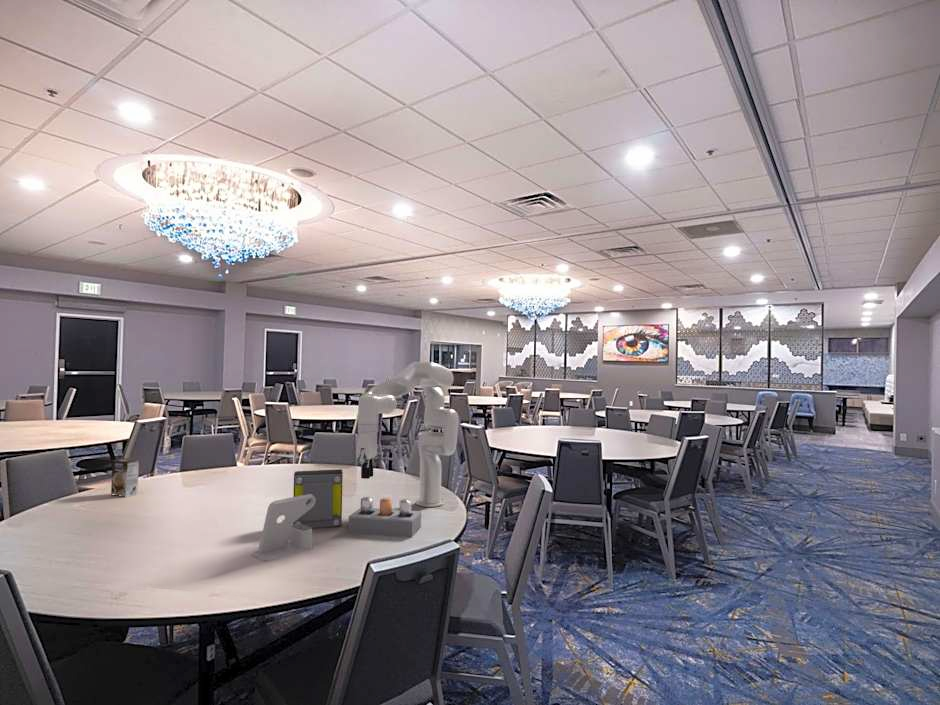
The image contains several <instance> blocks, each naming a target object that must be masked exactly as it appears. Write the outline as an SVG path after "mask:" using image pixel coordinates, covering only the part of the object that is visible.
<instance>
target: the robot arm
mask: <svg viewBox="0 0 940 705" xmlns="http://www.w3.org/2000/svg"><path fill="white" fill-rule="evenodd" d="M454 379H455V378H454V374H453V372H452V371H451V369H449V368H448V367H445V366H443V365H441V364H439V363H435V362H432V361H414V362H411V363H409V364H408V365H407V366H406V367H405V368H403V370H402V371H401V372H400V373H398V374H397V375H396V376H395V377H393V378H390V379H387V380H385V381H383V382H381V383H379V384H376V385H375V386H373V387H372V388H370V390H368V391H367V392H366V393H365V394H364V395H360V396H359V398H358V404H357V405H358V411H357V412H358V414H357V415H358V416H357V433H358V435H357V440H356V441H357V442H356V454H355V455H356V456H355V457H356V460H359V464H360V468H361V470H360V471H361V472H360V473H361V475H360V478H361V479H363V480H365V479H366V480H368V479H371V478H372V477H374V464H375V463H374V461H375V457H377V454H378V434H377V433H379V414H384V415H386V414H387V415H388V414H392V413H393V412H394V411H395V410H396V409H397V406H398V402H397V397H401V396H404V395H407V394H409V393H410V392H411V391H412V390H413V389H414V388H416V386H418V384H419V385H420V387H421V388H422V390H423V391H424V392H423V393H424V394H425V403H424V404H425V407H424V413H423V414H424V415H423V416H424V417H423V424H424V426H425V427H426V428H427V429H430V430H443V432H438V431H437V432H436V431H435V432H434V431H426V432H423V433H421V434H420V436H419V437H418V441H417V445H418V451H419V465H420V466H419V498H418V499H416V500H415V504H416V506H419V507H427V508H432V507H433V508H434V507H441V506H443V505H444V504H445V500H444V499H442V461H441V458H440V457H439V456H447V457H448V456H451V455H452V456H453V454H454V453H455V451H456V449H457V443H458V432H459V424H460V423H459V421H460V420H459V416H458V413H457V411H456V410H454V409H452V408H445V398H446V397H445V395H444V391H443V390H442V389H447V388H451V386H452V385H453V383H454Z"/></svg>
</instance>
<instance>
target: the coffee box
mask: <svg viewBox="0 0 940 705" xmlns="http://www.w3.org/2000/svg"><path fill="white" fill-rule="evenodd" d="M111 462H112V463H111V491H110V495H111V494H115V495H121V496H129V495H133V494H137V495H138V489H139V470H140V469H139V468H140V467H139V465H140V464H139V463H140V459H134V458H119V459H113V460H111ZM133 496H134V495H133ZM129 497H130V496H129Z"/></svg>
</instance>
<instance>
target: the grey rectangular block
mask: <svg viewBox="0 0 940 705" xmlns="http://www.w3.org/2000/svg"><path fill="white" fill-rule="evenodd" d="M421 527H422V511H420V510H411V516H407V517H402V516H399V509H392V514H391V515H380V508H375V507H373V511H372V513H370V514H361V507H359V509H357V510H356V511H354V512H352V513H351V514H350V515H349V516H348V533H349V534H362V535H374V536H386V537H387V536H388V537H389V536H390V537H400V538H402V537H403V538H405V537H406V538H413V537H414V536H415V535H416V533H417V532H419V530H420V529H421Z"/></svg>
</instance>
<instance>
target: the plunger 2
mask: <svg viewBox="0 0 940 705" xmlns="http://www.w3.org/2000/svg"><path fill="white" fill-rule="evenodd" d="M398 503H399V504H398V506H399V508H398V510H399V516H402V517H407V516H411V511H412V500H411V499H407V498H406V499H401V500H399V502H398Z"/></svg>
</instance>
